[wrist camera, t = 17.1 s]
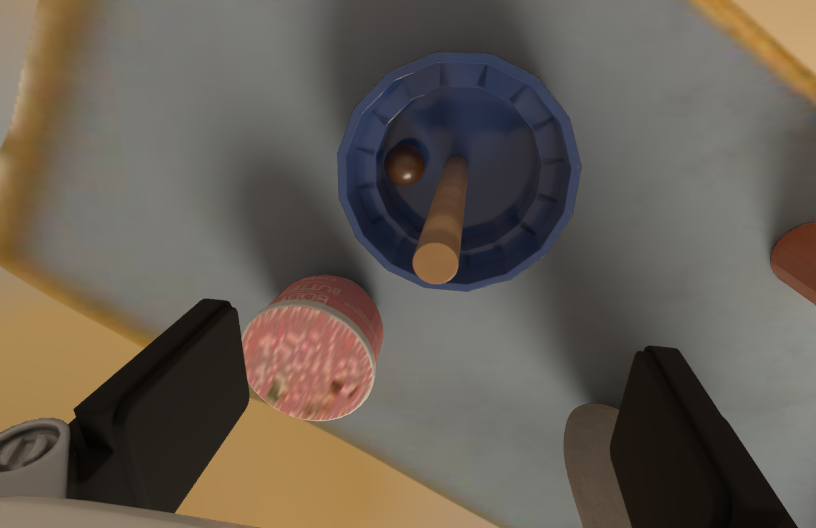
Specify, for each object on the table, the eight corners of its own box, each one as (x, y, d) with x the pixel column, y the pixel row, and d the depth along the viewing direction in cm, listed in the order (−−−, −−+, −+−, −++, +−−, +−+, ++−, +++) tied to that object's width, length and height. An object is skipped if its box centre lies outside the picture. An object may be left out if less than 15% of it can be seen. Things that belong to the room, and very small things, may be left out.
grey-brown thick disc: (523, 391, 42) (554, 614, 25) (584, 344, 39) (664, 559, 22) (662, 501, 45) (775, 771, 28) (728, 465, 42) (898, 738, 25)
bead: (436, 148, 32) (414, 141, 35) (398, 147, 31) (378, 139, 33) (430, 190, 33) (410, 180, 36) (393, 191, 32) (375, 180, 34)
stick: (445, 155, 34) (413, 240, 18) (469, 156, 34) (460, 244, 17) (443, 179, 35) (411, 282, 18) (467, 181, 34) (456, 286, 18)
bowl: (358, 50, 33) (333, 48, 27) (580, 57, 31) (601, 56, 25) (360, 250, 39) (341, 280, 33) (545, 265, 37) (557, 300, 31)
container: (263, 327, 43) (219, 380, 36) (306, 238, 39) (266, 278, 32) (360, 380, 44) (337, 442, 37) (413, 298, 40) (399, 351, 33)
